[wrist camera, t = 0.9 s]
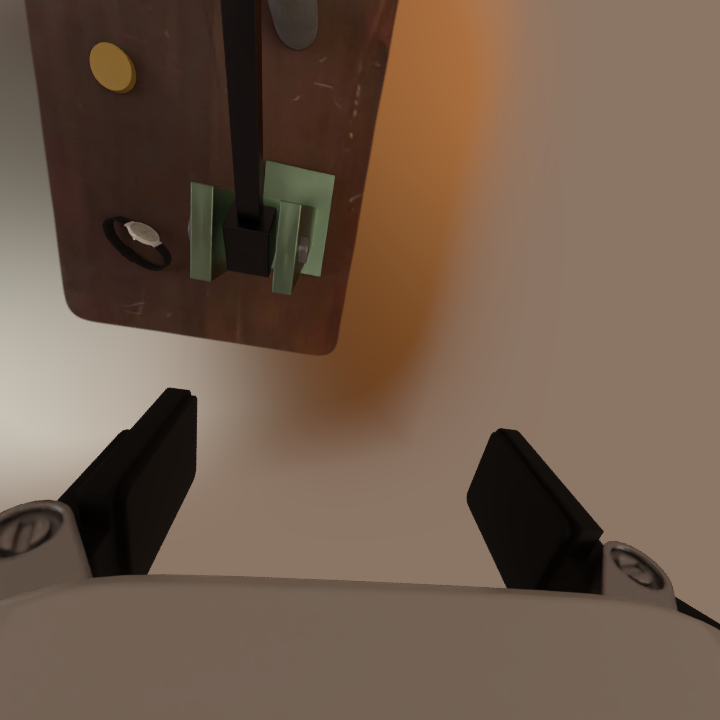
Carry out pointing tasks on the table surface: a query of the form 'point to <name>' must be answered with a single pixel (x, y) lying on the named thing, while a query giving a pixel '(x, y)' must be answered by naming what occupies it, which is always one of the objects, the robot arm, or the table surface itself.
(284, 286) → the hand press
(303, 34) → the planter
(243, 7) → the lever
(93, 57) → the brass blank
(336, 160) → the table surface
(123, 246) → the watch
